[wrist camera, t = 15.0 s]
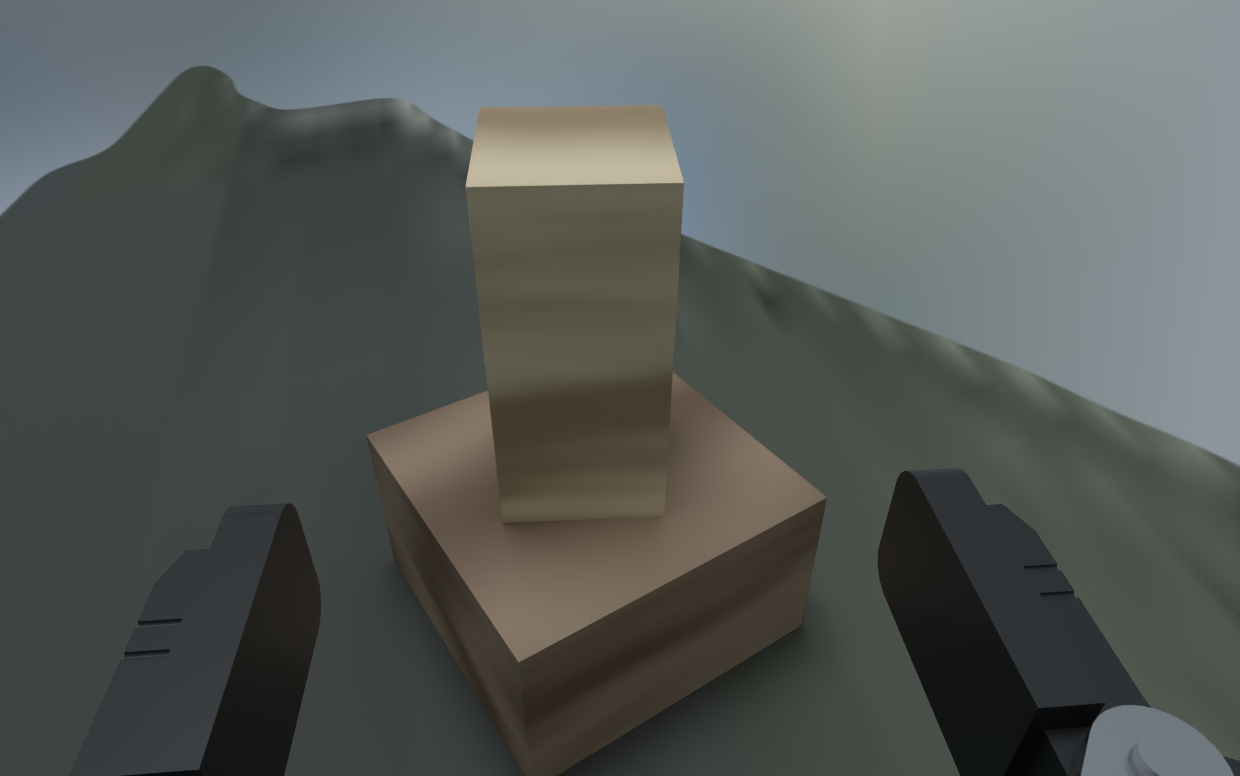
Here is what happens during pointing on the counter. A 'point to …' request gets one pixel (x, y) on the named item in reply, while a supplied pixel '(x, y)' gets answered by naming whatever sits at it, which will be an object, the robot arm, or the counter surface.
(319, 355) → the counter surface
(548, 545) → the walnut base
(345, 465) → the counter surface
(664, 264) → the oak block
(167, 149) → the counter surface
